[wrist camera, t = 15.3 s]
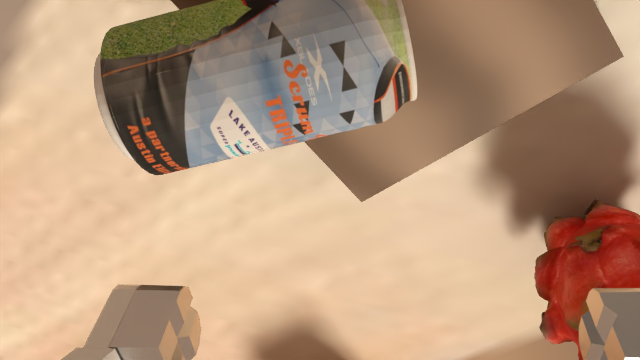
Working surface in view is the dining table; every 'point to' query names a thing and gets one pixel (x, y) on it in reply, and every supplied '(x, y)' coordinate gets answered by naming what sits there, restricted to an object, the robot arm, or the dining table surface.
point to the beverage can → (250, 77)
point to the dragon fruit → (585, 265)
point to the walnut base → (468, 80)
